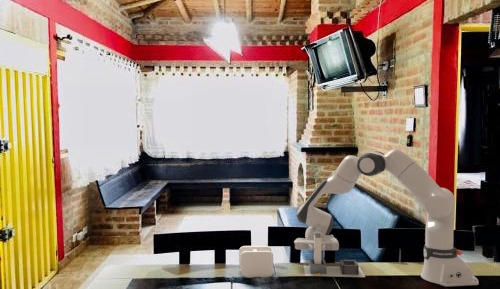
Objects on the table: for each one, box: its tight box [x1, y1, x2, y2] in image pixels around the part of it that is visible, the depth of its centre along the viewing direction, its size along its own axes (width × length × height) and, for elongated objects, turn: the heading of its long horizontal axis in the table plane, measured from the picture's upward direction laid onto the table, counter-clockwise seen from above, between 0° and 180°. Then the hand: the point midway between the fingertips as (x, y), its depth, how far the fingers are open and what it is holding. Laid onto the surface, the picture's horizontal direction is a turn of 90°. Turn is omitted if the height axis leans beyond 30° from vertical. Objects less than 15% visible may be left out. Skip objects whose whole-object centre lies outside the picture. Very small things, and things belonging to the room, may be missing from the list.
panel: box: [303, 259, 366, 278], centre depth 186 cm, size 26×13×5 cm, turn 85°
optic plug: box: [313, 231, 322, 264], centre depth 186 cm, size 3×4×16 cm
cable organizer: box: [238, 245, 274, 279], centre depth 185 cm, size 15×11×12 cm
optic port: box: [308, 258, 327, 274], centre depth 186 cm, size 7×8×4 cm
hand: (317, 249), depth 185 cm, fingers closed on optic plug, 3 cm apart
